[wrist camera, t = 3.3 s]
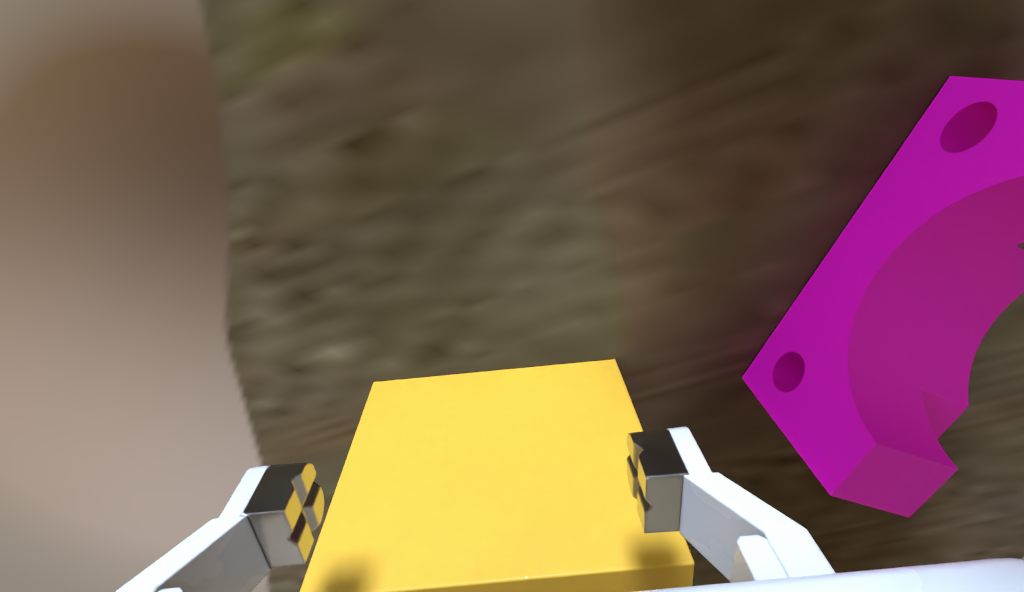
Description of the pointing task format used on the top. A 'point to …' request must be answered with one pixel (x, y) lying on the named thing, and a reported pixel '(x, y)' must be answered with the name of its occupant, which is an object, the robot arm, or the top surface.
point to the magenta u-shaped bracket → (905, 304)
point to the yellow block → (494, 490)
